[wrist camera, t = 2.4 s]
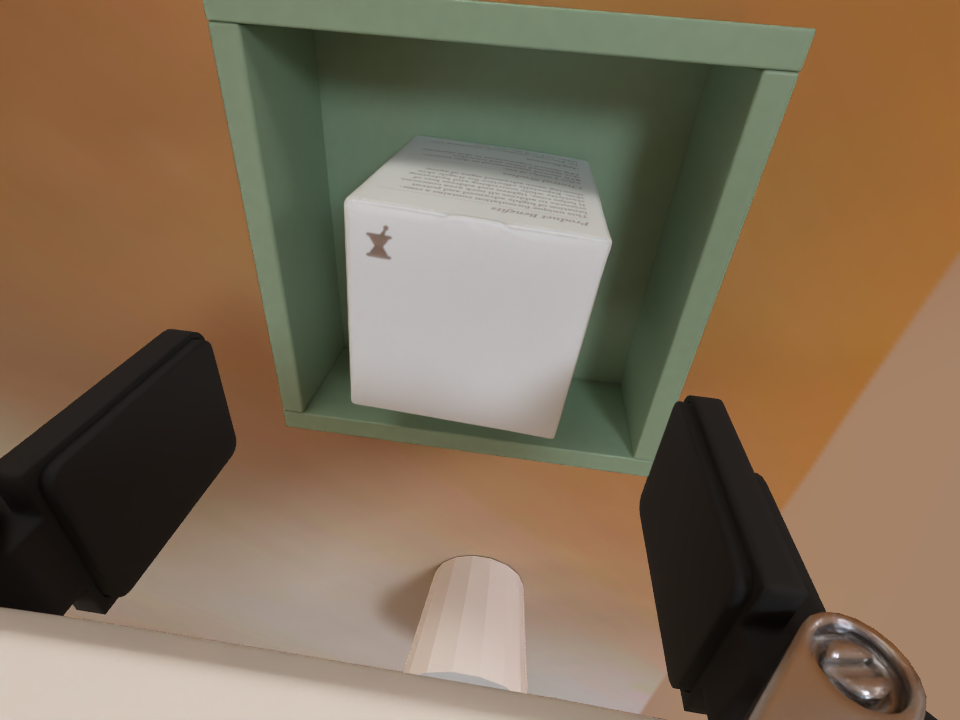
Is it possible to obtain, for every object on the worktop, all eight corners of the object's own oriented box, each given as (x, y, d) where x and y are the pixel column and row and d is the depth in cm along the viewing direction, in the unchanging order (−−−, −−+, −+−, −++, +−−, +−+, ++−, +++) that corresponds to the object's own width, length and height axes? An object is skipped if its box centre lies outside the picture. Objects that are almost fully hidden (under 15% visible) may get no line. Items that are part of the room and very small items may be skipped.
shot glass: (551, 604, 32) (550, 731, 26) (459, 621, 35) (439, 741, 29) (501, 538, 29) (487, 666, 23) (404, 562, 32) (370, 683, 26)
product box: (405, 291, 20) (342, 406, 14) (413, 129, 17) (335, 191, 11) (556, 317, 20) (556, 445, 14) (596, 159, 17) (617, 239, 11)
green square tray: (291, -12, 16) (197, -23, 12) (745, 24, 15) (817, 28, 11) (333, 354, 23) (285, 426, 19) (632, 393, 22) (650, 477, 18)
